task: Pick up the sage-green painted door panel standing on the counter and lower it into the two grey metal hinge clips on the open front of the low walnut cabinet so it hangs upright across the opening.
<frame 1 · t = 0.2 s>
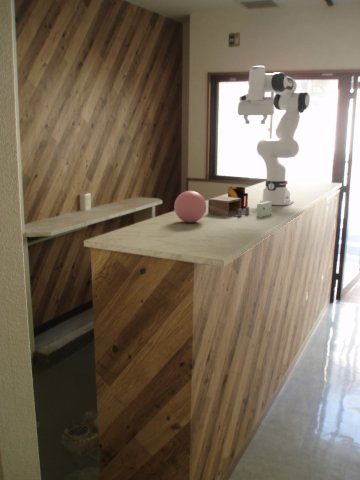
hand: (255, 123, 266), 47 cm above the table, fingers open, 8 cm apart
mug: (239, 209, 280), on the table
cabinet: (234, 214, 261), on the table
balloon: (192, 222, 240), on the table
door: (263, 215, 259), on the table
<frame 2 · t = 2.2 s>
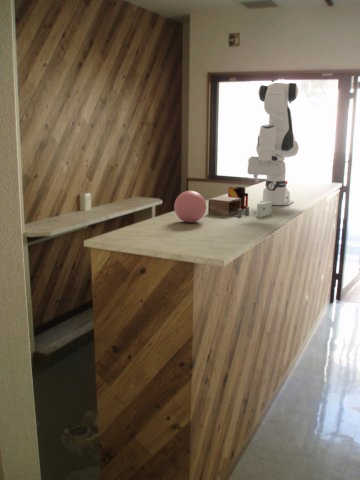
hand: (265, 183, 255), 17 cm above the table, fingers open, 8 cm apart
nothing on the table moved.
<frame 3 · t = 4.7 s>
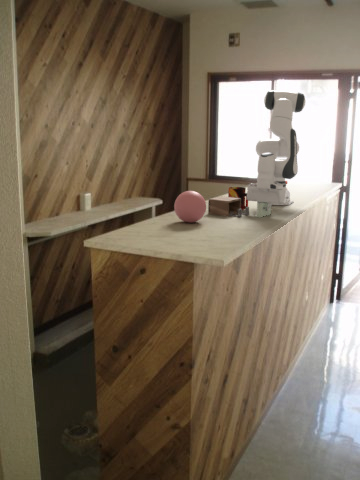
hand: (264, 210, 258), 3 cm above the table, fingers closed on door, 2 cm apart
door: (263, 215, 259), on the table, touching gripper
everything else where it was.
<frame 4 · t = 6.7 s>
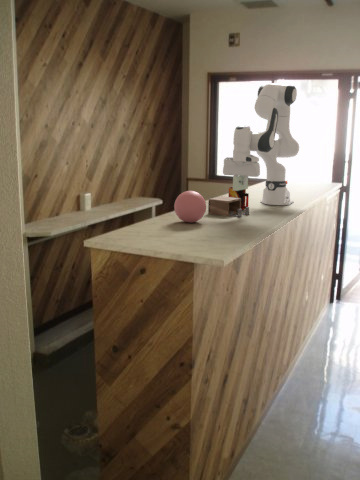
hand: (240, 184, 256), 16 cm above the table, fingers closed on door, 2 cm apart
door: (240, 189, 256), point 14 cm above the table, touching gripper
everything else where it was.
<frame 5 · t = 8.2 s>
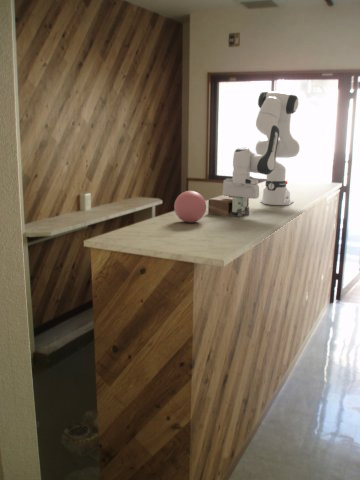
hand: (239, 205, 258), 5 cm above the table, fingers closed on door, 2 cm apart
door: (239, 210, 259), point 2 cm above the table, touching gripper
everything else where it was.
when the fingers open (5 cm above the table, at t = 9.0 s): door stays where it is, resting on cabinet.
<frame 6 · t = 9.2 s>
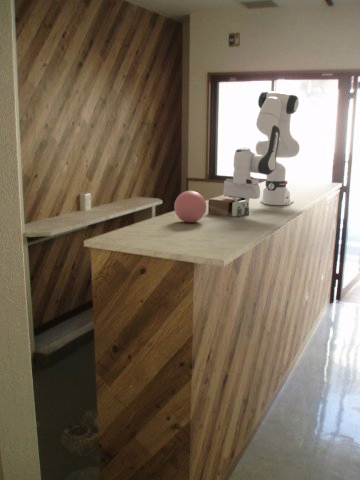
hand: (240, 206, 258), 5 cm above the table, fingers open, 4 cm apart
door: (239, 214, 259), resting on cabinet, touching gripper
everything else where it was.
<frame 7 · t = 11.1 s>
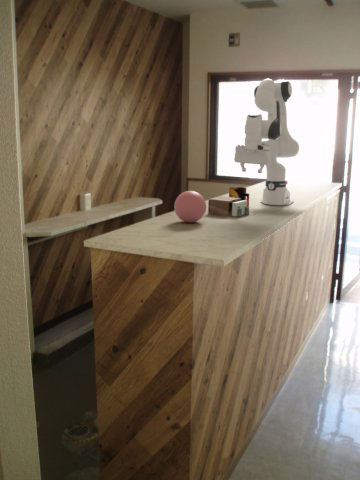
hand: (251, 172, 260), 22 cm above the table, fingers open, 8 cm apart
door: (239, 214, 259), resting on cabinet
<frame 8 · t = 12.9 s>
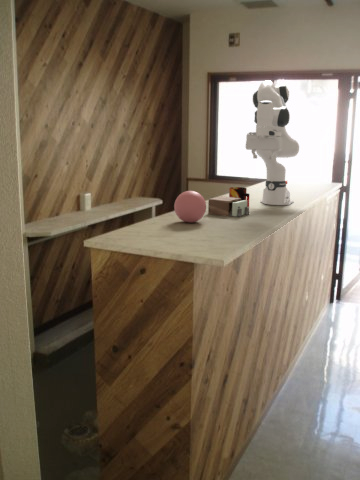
hand: (263, 158, 262), 29 cm above the table, fingers open, 8 cm apart
at the end: door 0.6 cm from the target spot on the cabinet, point 0.3 cm above the cabinet's base; door tilted 0°; the gripper is holding nothing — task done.
